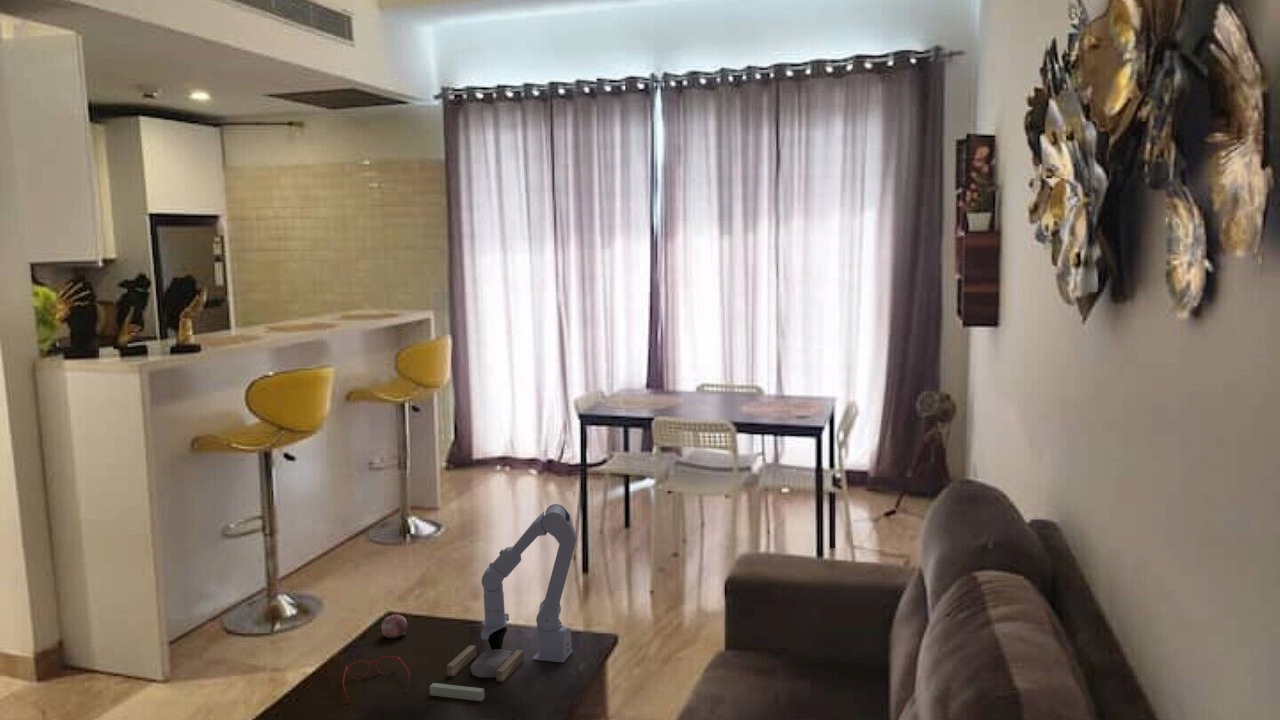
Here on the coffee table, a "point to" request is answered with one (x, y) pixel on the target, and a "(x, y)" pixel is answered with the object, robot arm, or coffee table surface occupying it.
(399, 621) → the onion
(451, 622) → the coffee table surface
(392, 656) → the red eyeglasses
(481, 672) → the stone block
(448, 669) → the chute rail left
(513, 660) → the chute rail right
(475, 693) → the end bar
